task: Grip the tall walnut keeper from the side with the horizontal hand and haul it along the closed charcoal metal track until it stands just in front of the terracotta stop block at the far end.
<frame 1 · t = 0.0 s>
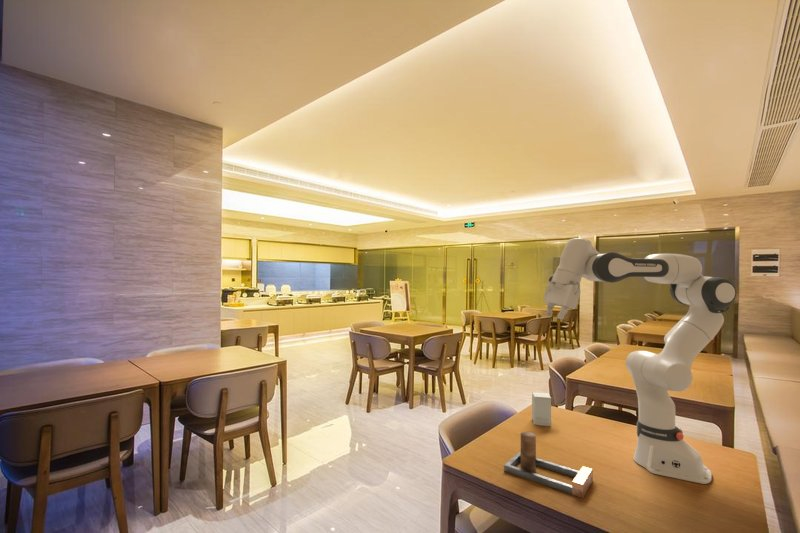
hand: (553, 317, 139), 52 cm above the table, tool tilted 20°, fingers open, 8 cm apart
keeper: (528, 469, 133), resting in guide track
guide track: (547, 476, 129), on the table
supplement box: (541, 423, 176), on the table
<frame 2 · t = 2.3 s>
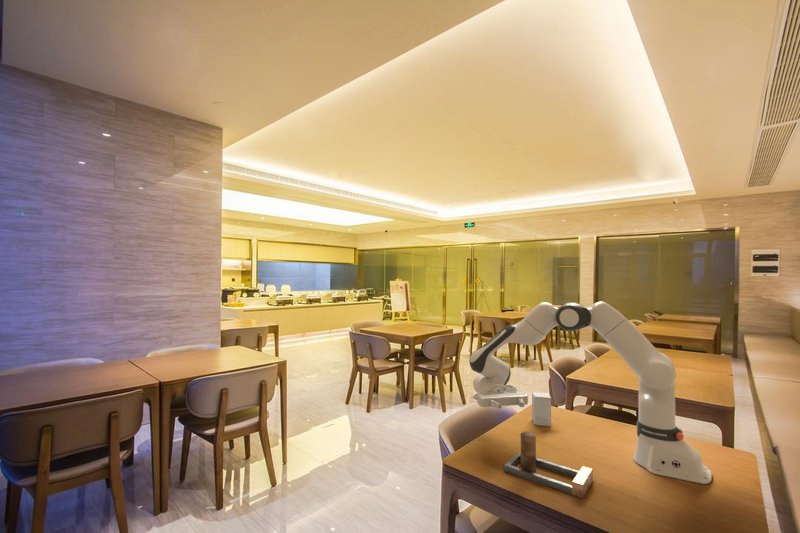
hand: (511, 405, 145), 18 cm above the table, tool horizontal, fingers open, 8 cm apart
nothing on the table moved.
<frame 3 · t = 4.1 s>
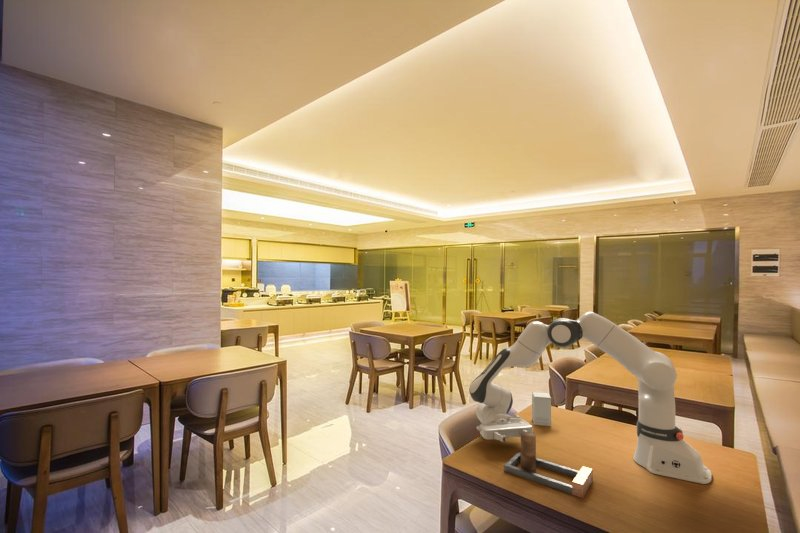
hand: (515, 438, 142), 7 cm above the table, tool horizontal, fingers open, 8 cm apart
nothing on the table moved.
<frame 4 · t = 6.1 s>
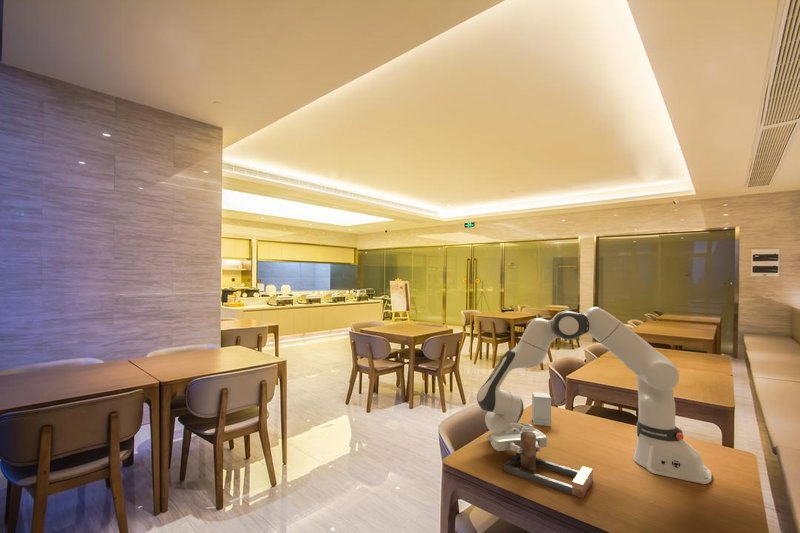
hand: (529, 450, 132), 7 cm above the table, tool horizontal, fingers closed on keeper, 5 cm apart
keeper: (528, 469, 133), resting in guide track, touching gripper
everything else where it was.
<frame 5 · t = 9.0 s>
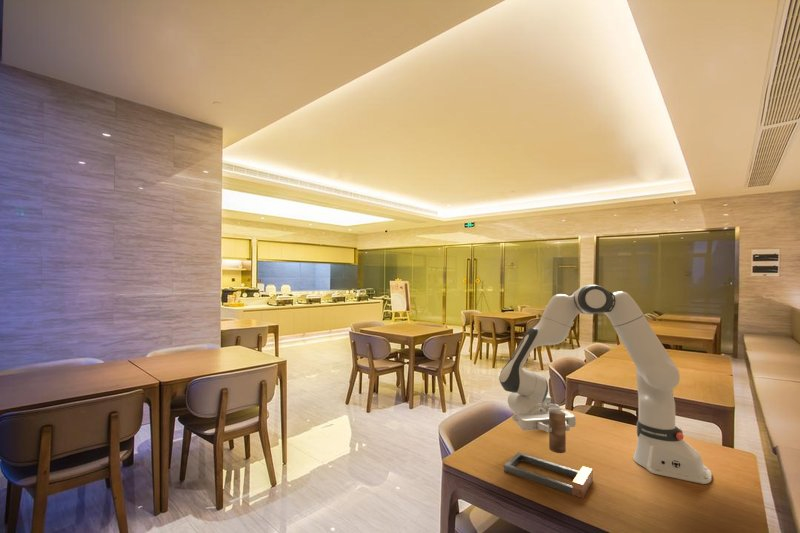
hand: (559, 429, 127), 17 cm above the table, tool horizontal, fingers closed on keeper, 5 cm apart
keeper: (557, 449, 127), point 10 cm above the table, touching gripper
everything else where it was.
when the fingers open (8 cm above the table, at t = 11.8 s): keeper drops 2 cm, resting in guide track.
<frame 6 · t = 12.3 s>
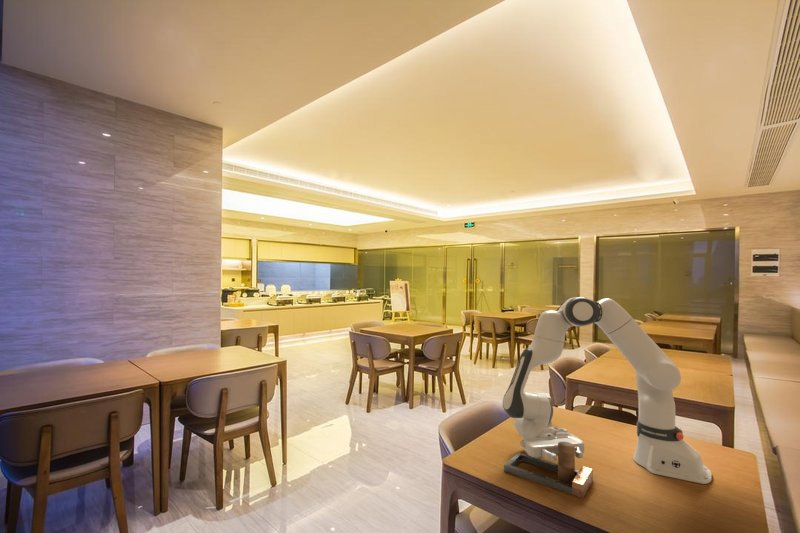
hand: (567, 457, 125), 8 cm above the table, tool horizontal, fingers open, 8 cm apart
keeper: (566, 482, 125), resting in guide track
everything else where it was.
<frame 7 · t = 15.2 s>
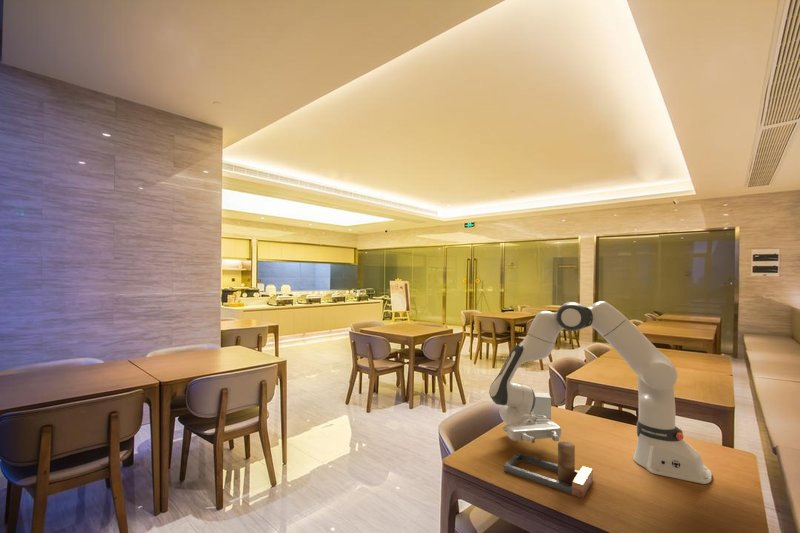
hand: (545, 439, 137), 9 cm above the table, tool horizontal, fingers open, 8 cm apart
nothing on the table moved.
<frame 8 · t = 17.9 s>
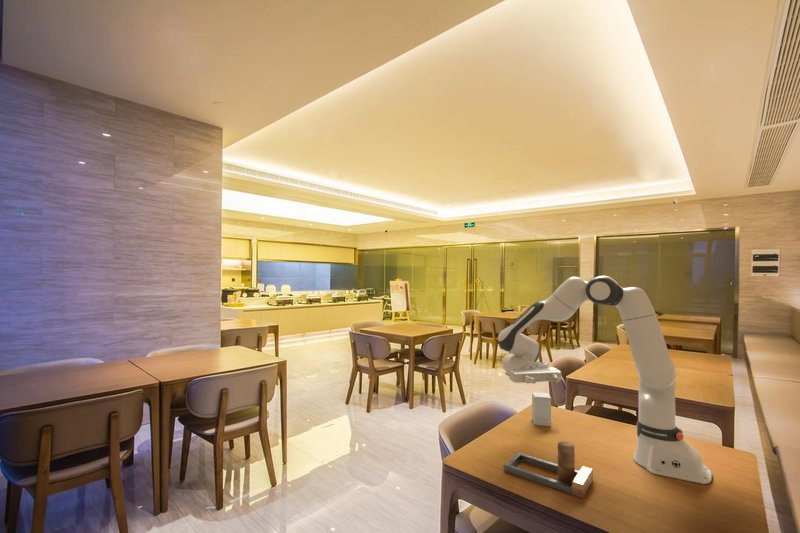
hand: (546, 380, 143), 28 cm above the table, tool horizontal, fingers open, 8 cm apart
nothing on the table moved.
at the end: keeper 0.2 cm from the target spot, resting in guide track; keeper tilted 0°; the gripper is holding nothing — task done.
